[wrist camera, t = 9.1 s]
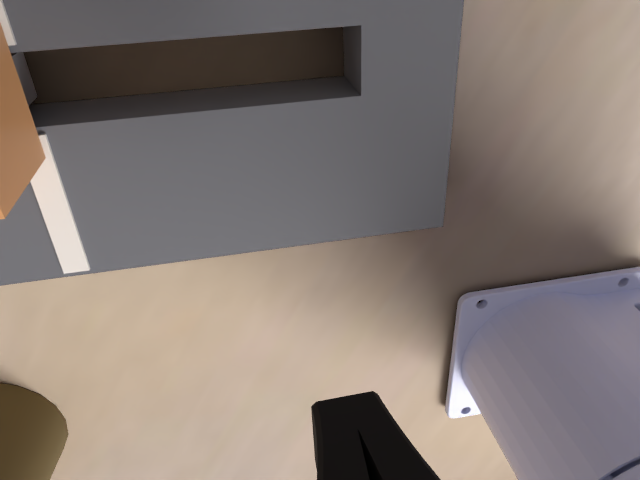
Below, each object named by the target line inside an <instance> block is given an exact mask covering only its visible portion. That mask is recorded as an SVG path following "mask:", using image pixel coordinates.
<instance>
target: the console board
mask: <svg viewBox="0 0 640 480" xmlns="http://www.w3.org/2000/svg"><path fill="white" fill-rule="evenodd" d="M463 5H464V0H0V23H1V26H2V29H3V32H4V35H5V38H6V41H7V44H8V47H9V50H10V53H17V52H29V51H42V50H55V49H67V48H80V47H92V46H105V45H118V44H130V43H143V42H156V41H168V40H181V39H194V38H206V37H219V36H232V35H244V34H257V33H270V32H282V31H295V30H308V29H320V28H333V27H343V46H344V76H339V77H328V78H317V79H306V80H295V81H284V82H273V83H262V84H251V85H240V86H229V87H218V88H207V89H197V90H186V91H175V92H164V93H153V94H142V95H131V96H120V97H109V98H98V99H87V100H76V101H66V102H55V103H44V104H33V105H29V109H30V112H31V115H32V118H33V121H34V124H35V127H36V130H37V133H38V136H39V139H40V142H41V145H42V148H43V151H44V154H45V157H46V159H45V160H44V162H43V163H42V164H41V166H40V167H39V169H38V170H37V172H36V173H35V175H34V176H33V178H32V179H31V181H30V182H29V184H28V185H27V187H26V188H25V190H24V191H23V193H22V194H21V196H20V197H19V199H18V200H17V202H16V203H15V205H14V206H13V208H12V209H11V211H10V212H9V214H8V215H7V217H6V218H5V219H0V286H1V285H8V284H16V283H23V282H31V281H38V280H46V279H53V278H61V277H68V276H76V275H83V274H91V273H98V272H106V271H113V270H121V269H128V268H136V267H143V266H151V265H158V264H166V263H173V262H181V261H188V260H196V259H203V258H211V257H218V256H226V255H233V254H241V253H248V252H256V251H263V250H271V249H278V248H286V247H294V246H301V245H309V244H316V243H324V242H331V241H339V240H346V239H354V238H361V237H369V236H376V235H384V234H391V233H399V232H406V231H414V230H421V229H429V228H436V227H443V222H444V211H445V200H446V189H447V179H448V168H449V157H450V146H451V135H452V124H453V113H454V103H455V92H456V81H457V70H458V59H459V48H460V37H461V26H462V16H463Z"/></svg>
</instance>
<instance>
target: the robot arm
mask: <svg viewBox="0 0 640 480" xmlns="http://www.w3.org/2000/svg"><path fill="white" fill-rule="evenodd" d="M480 300H483V301H481V302H480V303H478V302H479V301H480ZM477 303H478V304H477ZM311 408H312V422H313V436H314V450H315V462H316V468H317V480H440V478H439V477H438V476H437V475H436V474H435V472H434V471H433V470H432V469H431V467H430V466H429V465H428V464H427V463H426V461H425V460H424V459H423V458H422V456H421V455H420V454H419V452H418V451H417V450H416V449H415V447H414V446H413V445H412V443H411V442H410V441H409V439H408V438H407V437H406V435H405V434H404V433H403V431H402V430H401V428H400V427H399V426H398V424H397V423H396V421H395V420H394V419H393V417H392V416H391V414H390V413H389V411H388V410H387V408H386V407H385V405H384V404H383V402H382V400H381V399H380V397H379V395H378V394H377V393H375V392H373V391H371V392H366V393H360V394H355V395H350V396H344V397H339V398H334V399H328V400H323V401H318V402H316V403H315V404H314V405H312V406H311ZM445 411H446V413H447V415H448V416H449V417H450V418H460V417H465V416H471V415H476V414H482V416H483V417H484V419H485V421H486V423H487V425H488V426H489V428H490V430H491V432H492V434H493V435H494V437H495V439H496V441H497V443H498V444H499V446H500V448H501V450H502V452H503V453H504V455H505V457H506V459H507V461H508V462H509V464H510V466H511V468H512V470H513V471H514V473H515V475H516V477H517V479H518V480H640V267H634V268H627V269H621V270H614V271H607V272H601V273H594V274H588V275H581V276H574V277H568V278H561V279H555V280H548V281H541V282H535V283H528V284H522V285H515V286H508V287H502V288H495V289H489V290H482V291H475V292H469V293H466V294H464V295H462V296H461V297H460V299H459V300H458V304H457V313H456V321H455V329H454V338H453V346H452V355H451V363H450V371H449V380H448V388H447V397H446V405H445Z"/></svg>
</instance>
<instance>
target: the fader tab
mask: <svg viewBox="0 0 640 480" xmlns="http://www.w3.org/2000/svg"><path fill="white" fill-rule="evenodd" d="M36 98H37V94H36V91H35V88H34V84H33V81H32V78H31V75H30V72H29V69H28V66H27V63H26V60H25V57H24V54H23V52H17V53H10V50H9V47H8V44H7V41H6V38H5V35H4V32H3V29H2V26H1V23H0V219H5V218H6V217H7V215H8V214H9V212H10V211H11V209H12V208H13V206H14V205H15V203H16V202H17V200H18V199H19V197H20V196H21V194H22V193H23V191H24V190H25V188H26V187H27V185H28V184H29V182H30V181H31V179H32V178H33V176H34V175H35V173H36V172H37V170H38V169H39V167H40V166H41V164H42V163H43V162H44V160H45V159H46V157H45V154H44V151H43V148H42V145H41V142H40V139H39V136H38V133H37V130H36V127H35V124H34V121H33V118H32V115H31V112H30V109H29V105H30V104H31V103H32V102H33V101H34V100H35V99H36Z"/></svg>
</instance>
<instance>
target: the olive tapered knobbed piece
mask: <svg viewBox="0 0 640 480" xmlns="http://www.w3.org/2000/svg"><path fill="white" fill-rule="evenodd" d="M67 437H68V430H67V424H66V420H65V418H64V417H63V415H62V414H61V412H60V411H59V410H58V408H57V407H56V406H55V405H54V404H52V403H51V402H50V401H48V400H47V399H45V398H44V397H43V396H41V395H40V394H38V393H35V392H32V391H30V390H27V389H25V388H22V387H20V386H16V385H10V384H3V383H0V480H50V478H51V476H52V473H53V471H54V469H55V467H56V464H57V462H58V460H59V458H60V455H61V453H62V451H63V449H64V446H65V443H66V440H67Z"/></svg>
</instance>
